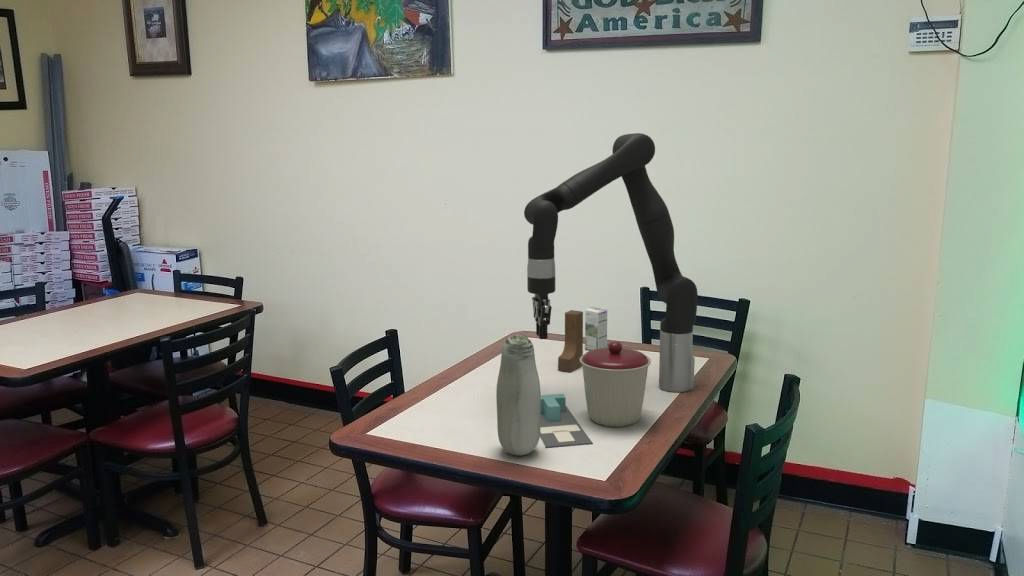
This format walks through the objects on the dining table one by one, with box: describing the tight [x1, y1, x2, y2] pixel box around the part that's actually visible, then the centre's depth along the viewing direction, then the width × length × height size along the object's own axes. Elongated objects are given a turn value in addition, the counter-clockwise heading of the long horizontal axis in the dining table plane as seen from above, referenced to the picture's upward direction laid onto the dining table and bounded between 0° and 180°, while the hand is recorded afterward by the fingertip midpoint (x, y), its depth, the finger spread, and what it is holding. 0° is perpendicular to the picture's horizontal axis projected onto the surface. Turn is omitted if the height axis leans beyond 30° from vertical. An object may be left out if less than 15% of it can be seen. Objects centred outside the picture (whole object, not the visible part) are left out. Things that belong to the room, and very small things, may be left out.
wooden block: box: [557, 309, 584, 373], centre depth 237 cm, size 9×4×18 cm, turn 148°
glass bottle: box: [495, 334, 542, 457], centre depth 172 cm, size 10×10×28 cm
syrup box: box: [584, 306, 608, 351], centre depth 258 cm, size 6×6×14 cm
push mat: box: [539, 405, 593, 449], centre depth 191 cm, size 12×28×1 cm, turn 10°
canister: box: [579, 340, 652, 428], centre depth 192 cm, size 18×18×21 cm
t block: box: [540, 393, 567, 422], centre depth 197 cm, size 9×9×4 cm
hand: (541, 336), depth 203 cm, fingers open, 3 cm apart
